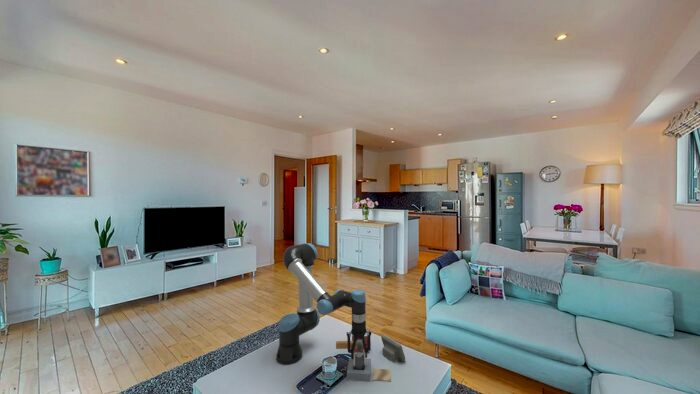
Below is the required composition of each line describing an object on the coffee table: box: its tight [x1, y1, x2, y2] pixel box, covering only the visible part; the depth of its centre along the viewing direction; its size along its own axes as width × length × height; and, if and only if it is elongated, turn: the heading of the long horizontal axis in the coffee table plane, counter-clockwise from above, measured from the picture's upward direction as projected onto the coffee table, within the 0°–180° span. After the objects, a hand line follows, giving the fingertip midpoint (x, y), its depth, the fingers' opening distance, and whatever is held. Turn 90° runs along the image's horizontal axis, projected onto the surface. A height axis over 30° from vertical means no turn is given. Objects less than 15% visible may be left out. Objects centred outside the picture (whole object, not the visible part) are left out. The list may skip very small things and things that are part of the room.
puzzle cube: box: [351, 328, 370, 354], centre depth 169 cm, size 10×10×10 cm
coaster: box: [372, 368, 392, 382], centre depth 143 cm, size 9×9×1 cm
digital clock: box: [380, 334, 406, 363], centre depth 160 cm, size 16×9×11 cm, turn 24°
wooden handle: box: [335, 340, 363, 350], centre depth 151 cm, size 4×15×3 cm, turn 91°
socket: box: [346, 349, 372, 382], centre depth 146 cm, size 12×14×10 cm
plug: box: [354, 352, 364, 370], centre depth 146 cm, size 5×5×10 cm
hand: (359, 364), depth 145 cm, fingers closed on plug, 5 cm apart
